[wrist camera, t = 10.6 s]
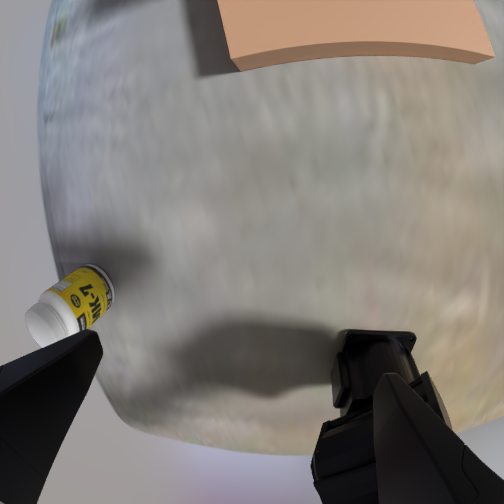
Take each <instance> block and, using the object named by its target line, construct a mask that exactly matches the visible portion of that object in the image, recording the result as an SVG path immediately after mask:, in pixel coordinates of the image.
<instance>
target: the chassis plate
mask: <svg viewBox="0 0 504 504" xmlns="http://www.w3.org/2000/svg"><path fill="white" fill-rule="evenodd" d="M217 1H218V5H219V9H220V14H221V18H222V22H223V26H224V31H225V35H226V39H227V44H228V48H229V53H230V57H231V60H232V61H233V62H234V63H235V65H236V66H237V67H238V68H239V70H240V71H246V70H250V69H255V68H260V67H265V66H270V65H276V64H282V63H288V62H295V61H302V60H310V59H320V58H331V57H345V56H374V55H383V56H412V57H426V58H436V59H445V60H452V61H459V62H465V63H471V64H476V63H479V62H482V61H485V60H488V59H491V58H494V57H495V55H494V52H493V49H492V46H491V43H490V40H489V38H488V35H487V32H486V30H485V27H484V25H483V22H482V20H481V17H480V15H479V13H478V11H477V8H476V6H475V4H474V2H473V0H217Z"/></svg>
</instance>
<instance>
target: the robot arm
mask: <svg viewBox="0 0 504 504" xmlns="http://www.w3.org/2000/svg"><path fill="white" fill-rule="evenodd" d="M351 336H354V337H353V338H350V337H351ZM410 338H412V339H410ZM409 339H410V340H409ZM416 339H417V338H416V335H415V334H414V333H404V332H374V331H354V330H353V331H349V332H348V333H347V334H346V336H345V340H344V343H343V347H342V350H341V352H339V353H338V354H337V355H336V359H335V362H334V365H333V368H332V372H331V381H332V394H333V406H334V407H335V408H340V415H341V417H339V418H337V419H335V420H332V421H330V420H329V421H327V422H324V423H323V425H322V428H321V432H320V435H319V438H318V441H317V445H316V448H315V451H314V454H313V457H312V461H311V470H312V475H313V479H314V482H313V484H314V487H315V488H316V490H317V492H318V494H319V496H320V498H321V501H322V504H504V480H503V479H502V478H501V477H499V476H498V475H497V474H496V473H495V472H493V471H492V470H491V469H490V468H489V467H488V466H487V465H485V463H483V462H482V461H481V460H480V459H479V458H478V457H477V456H476V455H475V454H474V453H473V452H472V451H471V450H470V448H469V447H468V446H467V445H464V442H463V441H462V440H461V439H460V438H459V437H458V436H457V435H456V434H455V433H454V432H453V430H452V426H451V422H450V418H449V416H448V413H447V411H446V408H445V406H444V403H443V401H442V398H441V396H440V394H439V393H438V391H437V389H436V387H435V385H434V383H433V381H432V379H431V377H430V376H429V374H428V372H427V371H426V372H424V373H423V374H421V376H420V374H419V371H418V369H417V366H416V364H415V361H414V359H413V357H412V354H411V351H412V349H413V346H414V344H415V342H416ZM102 356H103V348H102V345H101V342H100V339H99V336H98V334H97V332H95V331H93V330H89V329H84V330H82V331H80V332H77V333H75V334H73V335H71V336H68V337H66V338H64V339H61V340H59V341H57V342H55V343H52V344H50V345H48V346H45V347H43V348H41V349H39V350H37V351H34V352H32V353H30V354H28V355H25V356H23V357H20V358H18V359H16V360H14V361H11V362H9V363H7V364H5V365H2V366H0V504H37V501H38V499H39V496H40V494H41V491H42V489H43V486H44V484H45V481H46V478H47V476H48V474H49V471H50V469H51V467H52V464H53V462H54V460H55V457H56V455H57V453H58V451H59V449H60V447H61V444H62V442H63V440H64V438H65V436H66V434H67V432H68V430H69V428H70V425H71V424H72V422H73V419H74V417H75V415H76V413H77V411H78V410H79V408H80V406H81V404H82V402H83V400H84V398H85V396H86V394H87V392H88V390H89V387H90V385H91V382H92V380H93V378H94V375H95V373H96V370H97V368H98V366H99V363H100V361H101V359H102Z"/></svg>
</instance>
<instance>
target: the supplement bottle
mask: <svg viewBox="0 0 504 504" xmlns="http://www.w3.org/2000/svg"><path fill="white" fill-rule="evenodd" d="M114 297H115V294H114V288H113V285H112V283H111V281H110V279H109V277H108V276H107V275H106V273H105V272H104V271H103V270H102V269H100V268H99V267H97V266H95V265H91V264H87V265H84V266H82V267H80V268H79V269H77V270H76V271H74V272H72V273H71V274H70V275H68V276H67V277H65V278H64V279H62V280H61V281H59V282H58V283H57V284H55V285H54V286H52V287H51V288H49V289H48V290H46V291H45V292H44V293H43V294H42V295H41V296H40V298H39V302H38V303H36V304H35V305H34V306H33V307H31V308H30V309H29V310H28V311H27V312H26V314H25V321H26V325H27V327H28V330H29V332H30V333H31V335H32V337H33V338H34V340H35V341H36V342H37V343H38V344H39V345H40V346H41V347H42V348H43V347H45V346H48V345H50V344H52V343H55V342H57V341H59V340H61V339H64V338H66V337H68V336H71V335H73V334H75V333H77V332H80V331H82V330H84V329H88V328H89V327H90V326H91V325H92V324H93V323H94V322H95V321H96V320H97V319H98V318H99V317H100V316H101V315H102V314H103V313H105V311H107V310H108V309H109V308H110V306H111V305H112V304H113V302H114Z"/></svg>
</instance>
